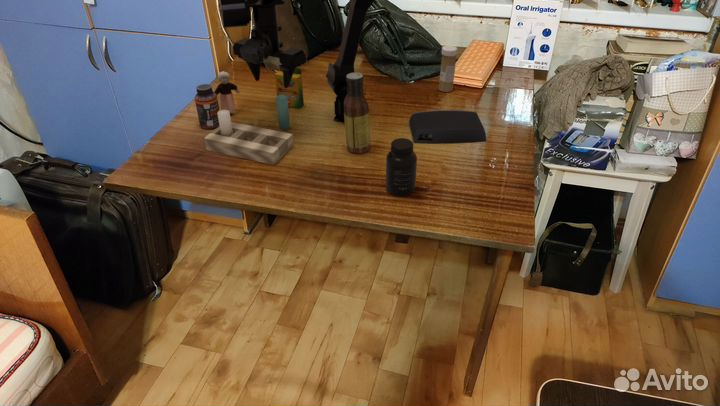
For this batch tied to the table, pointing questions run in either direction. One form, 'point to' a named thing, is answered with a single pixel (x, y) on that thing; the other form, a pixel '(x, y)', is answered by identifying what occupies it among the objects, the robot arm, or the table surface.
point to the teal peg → (283, 112)
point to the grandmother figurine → (226, 92)
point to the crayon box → (291, 88)
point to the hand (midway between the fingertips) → (271, 84)
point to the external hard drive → (446, 127)
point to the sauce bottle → (356, 115)
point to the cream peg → (225, 123)
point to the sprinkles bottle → (447, 68)
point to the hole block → (251, 143)
